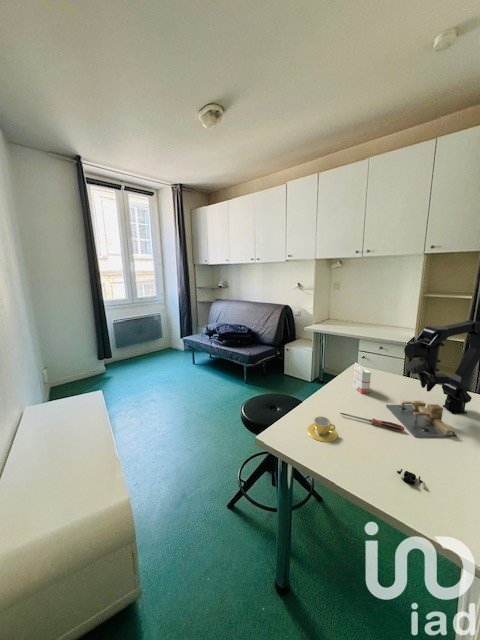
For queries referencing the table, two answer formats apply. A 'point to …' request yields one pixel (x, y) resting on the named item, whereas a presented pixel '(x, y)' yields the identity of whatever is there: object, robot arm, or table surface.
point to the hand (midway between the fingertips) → (425, 389)
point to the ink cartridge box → (361, 379)
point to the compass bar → (436, 421)
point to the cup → (322, 429)
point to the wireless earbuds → (409, 477)
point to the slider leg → (430, 412)
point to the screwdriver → (381, 423)
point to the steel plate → (416, 422)
